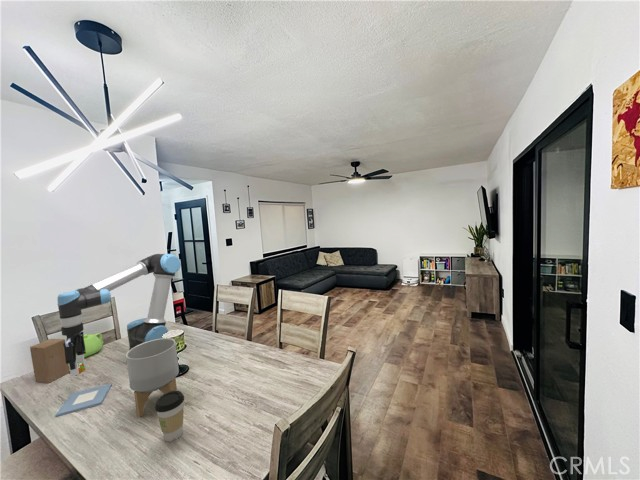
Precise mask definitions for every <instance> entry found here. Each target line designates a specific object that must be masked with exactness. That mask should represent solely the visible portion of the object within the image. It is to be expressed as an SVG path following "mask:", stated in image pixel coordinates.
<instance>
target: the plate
mask: <svg viewBox="0 0 640 480" xmlns="http://www.w3.org/2000/svg"><path fill="white" fill-rule="evenodd" d="M112 386H113V384H112V382H110V383H107V384H104V385H99V386H95V387H91V388H87V389H84V390H80V391H75V392H71V394H69V396H68V397H67V399H66V400H65V402H64V403H63V404H62V405H61V407H60V408H59V409H58V411H57V412H56V414H55V416H54V417H55V418H56V417H58V418H59V417H61V416H65V415H68V414H71V413H76V412H78V411H81V410H86V409H89V408H92V407H96V406H99V405H103V402H104V401H105V398H106V396H107V395H108V393H109V391H110V390H111V387H112Z"/></svg>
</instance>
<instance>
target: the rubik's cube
mask: <svg viewBox="0 0 640 480" xmlns="http://www.w3.org/2000/svg"><path fill="white" fill-rule="evenodd" d="M78 371H79V374H78V375H80V374H82V373H83V372H85V371H86V366H85V367H84V364H83V363H81V362H80V363H78ZM78 375H75V377H77V376H78Z"/></svg>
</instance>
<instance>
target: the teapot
mask: <svg viewBox="0 0 640 480" xmlns="http://www.w3.org/2000/svg"><path fill="white" fill-rule="evenodd" d="M98 336H99V337H98ZM83 337H84V343H85V349H86V350H85V351H86V353H85V354H84V359H85V358H87V357H89V356H91V355H94V354H96V353H97V354H98V353H99V352H100V351H101V349H102V347H103V345H104V340H102V338H103V334H102V333H99V332H97V333H95V334H93V333H92V334H87V333H83ZM85 351H84V352H85ZM76 356H78V355H77V354H76Z"/></svg>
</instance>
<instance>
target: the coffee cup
mask: <svg viewBox="0 0 640 480" xmlns="http://www.w3.org/2000/svg"><path fill="white" fill-rule="evenodd" d="M184 401H185V395H184V393H183V392H182V391H181V390H175V391H171V392H168V393H166V394H164V393H163V394H162V395H161V396H160V397H158V398H157V400H156V403H155V405H154V411H156V413H157V415H156V416H157V419H158V422H159V427H160V430H161V432H162V435H163V438H164V441H166V442H168V441H169V442H173V441H176V440H177V439H179V438H180V437H181V436H182V435H183V432H184V430H183V428H184V411H185V410H184V406H185V405H184ZM178 437H179V438H178ZM175 439H176V440H175ZM172 440H173V441H172Z"/></svg>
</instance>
